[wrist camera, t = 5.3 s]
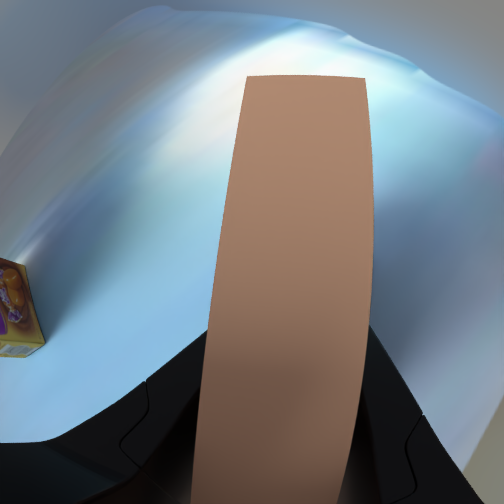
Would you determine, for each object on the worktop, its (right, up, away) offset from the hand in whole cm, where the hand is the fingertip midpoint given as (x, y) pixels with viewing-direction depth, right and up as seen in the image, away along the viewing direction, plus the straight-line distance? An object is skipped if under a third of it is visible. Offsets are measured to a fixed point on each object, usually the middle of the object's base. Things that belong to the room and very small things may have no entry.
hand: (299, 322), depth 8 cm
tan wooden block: (0, -2, +1) cm, 2 cm away
